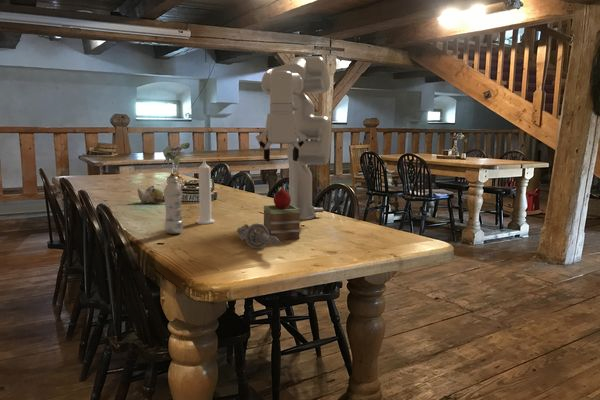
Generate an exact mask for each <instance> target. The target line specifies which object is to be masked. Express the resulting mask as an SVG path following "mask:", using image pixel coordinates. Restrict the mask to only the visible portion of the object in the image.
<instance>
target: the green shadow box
mask: <svg viewBox="0 0 600 400" xmlns="http://www.w3.org/2000/svg"><path fill="white" fill-rule="evenodd" d="M300 224H301V220H300V209H299V208H297V207H295V206H293V205H289V206H288V207H287V208H286V209H283V210H280V209H278V208H277V207H276V206H275V204H274V205H273V204H271V205H270V204H269V205H263V225H264V226H265V227H266V228H267V229H268V232H269V236H274V237H276V238H277V239H278V240H279V241H288V240H300V239H301V238H300V235H301V234H300V232H301V229H300V227H301V226H300Z"/></svg>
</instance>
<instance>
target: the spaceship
mask: <svg viewBox="0 0 600 400" xmlns="http://www.w3.org/2000/svg"><path fill="white" fill-rule="evenodd" d="M256 230H258V231H256ZM236 231H237V232H238V236H239V238H240V240H241V242H243V243H246V244H247V245H248V247H250V248H252V249H255V250H257V249H261V248H263V247H265V246H267V245H269V244H272V245H273V246H276V247H279V246H281V240H278V239H277V238H276V237H274V236H269V232H268V229H267V228H266V227H265V226H264V223H259V222H256V223H252V224H251V225H249V224H248V223H245V224H244V225H243V226H241V227H238V228H237V230H236ZM257 241H258V242H257Z"/></svg>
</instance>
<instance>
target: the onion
mask: <svg viewBox="0 0 600 400" xmlns="http://www.w3.org/2000/svg"><path fill="white" fill-rule="evenodd" d="M273 203H274V205H275V206H276V207H277V208H278V209H280V210H283V209H286V208H287V207H288V206H289V205H290V203H291V197H290V195H289V192H287V191H286V190H285V187H284V186H283V187H281V188H280V189H279V190H277V192H276V193H275V194H274V196H273Z"/></svg>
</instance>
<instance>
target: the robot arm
mask: <svg viewBox="0 0 600 400" xmlns="http://www.w3.org/2000/svg"><path fill="white" fill-rule="evenodd" d="M260 83H261V84H260V85H261V90H262V92H263V93H264V94H265V95H267V96H269V113H267V115H266V123H265V130H264V131H262V132H261V133H259V134H257V135H256V136H255V139H256V141H257V143H258V145H259V146H260V147H261V148H262V149H263V160H265V162H270V160H271V159H270V153H271V152H270V146H272V144H275V145H278V144H279V145H281V144H282V145H285V144H286V145H287V144H288V145H287V147H286V156H287V162H288V177H289V178H288V180H289V181H288V182H289V183H288V194H289V195H290V197H291V203H290V205H293V206H295V207H297V208H299V209H300V221H302V220H304V221H306V220H313V219H315V218H316V213H323V212H324V208H323V207H315V206H313V173H312V171H311V170H310V168H309V167H308V166H307V165H318V166H320V165H327V164H328V163H329V162H330V156H331V143H332V122H331V119H330V118H329V117H327V116H325V115H315V104H314V102H313V101H312V100H311V98H310V97H309V96H308V95H307V94H325V93H327V92H328V91H329V90H330V87H331V77H330V73H329V69H328V65H327V63H326V61H325V59H324V58H323V57H321V56H319V55H318V56H317V55H316V56H308V55H307V56H296V57H294V58H292V59H291V60H290V61H289V62H288V63H286V64H283V65H280V66H276V67H273V68H269V69H268V70H267V71H265V73H264V74H263V76H262V78H261V82H260ZM262 138H265V142H264V141H263V140H262ZM298 139H299V140H298Z"/></svg>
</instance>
